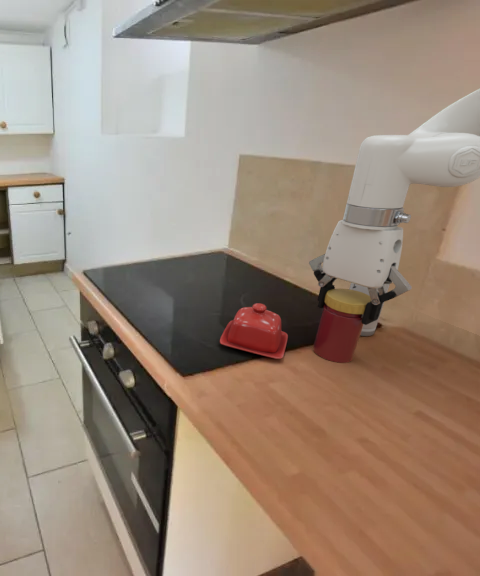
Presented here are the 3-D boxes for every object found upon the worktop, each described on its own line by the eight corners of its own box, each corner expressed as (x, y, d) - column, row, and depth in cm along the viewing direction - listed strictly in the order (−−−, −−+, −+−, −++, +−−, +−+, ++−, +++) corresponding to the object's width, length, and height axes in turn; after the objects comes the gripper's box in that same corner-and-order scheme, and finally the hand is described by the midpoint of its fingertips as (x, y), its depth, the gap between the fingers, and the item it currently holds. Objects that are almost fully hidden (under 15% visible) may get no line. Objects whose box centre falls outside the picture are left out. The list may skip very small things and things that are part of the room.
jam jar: (325, 340, 76) (338, 292, 72) (360, 356, 71) (376, 305, 67) (305, 349, 73) (318, 299, 69) (340, 366, 68) (356, 313, 64)
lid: (357, 318, 63) (360, 308, 63) (316, 303, 69) (318, 294, 68) (379, 307, 67) (382, 298, 66) (338, 294, 72) (340, 285, 72)
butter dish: (281, 366, 68) (291, 323, 65) (216, 349, 73) (222, 309, 70) (287, 338, 77) (296, 299, 74) (229, 324, 82) (235, 288, 79)
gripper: (447, 223, 57) (410, 328, 63) (330, 206, 71) (311, 293, 77) (424, 229, 53) (388, 340, 60) (306, 210, 67) (288, 301, 74)
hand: (345, 313), depth 69 cm, fingers closed on lid, 7 cm apart
